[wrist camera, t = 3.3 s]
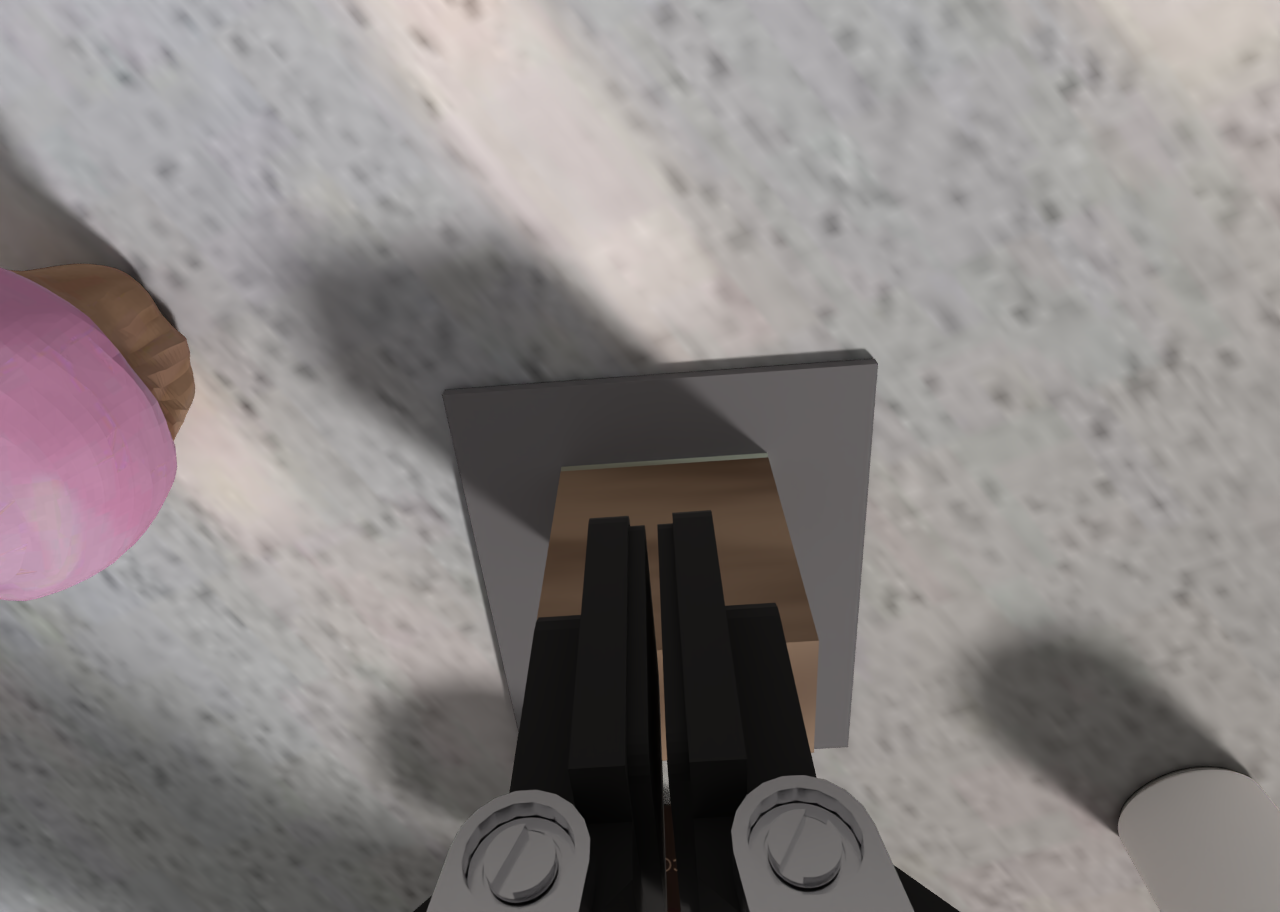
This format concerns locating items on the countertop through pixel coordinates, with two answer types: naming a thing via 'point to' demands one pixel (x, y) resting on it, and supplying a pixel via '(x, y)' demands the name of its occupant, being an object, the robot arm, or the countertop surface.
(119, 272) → the cupcake
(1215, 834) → the can
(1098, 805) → the countertop surface
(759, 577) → the walnut block
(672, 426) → the rubber mat
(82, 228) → the countertop surface
